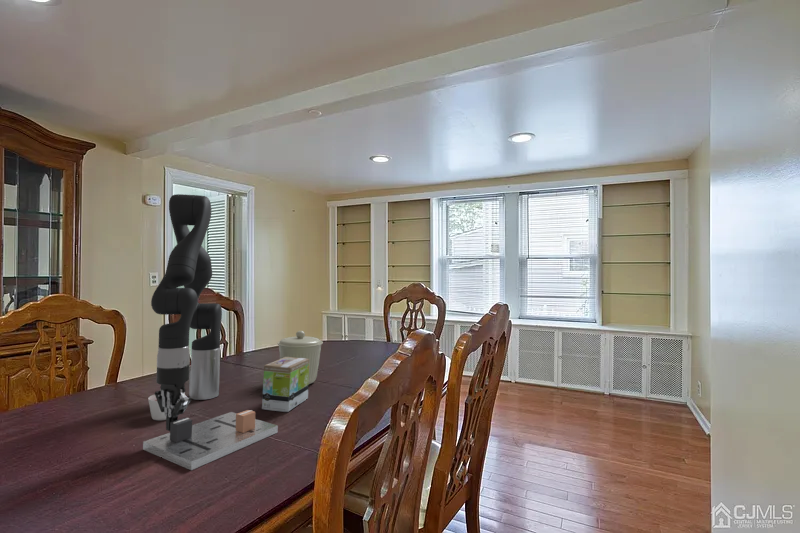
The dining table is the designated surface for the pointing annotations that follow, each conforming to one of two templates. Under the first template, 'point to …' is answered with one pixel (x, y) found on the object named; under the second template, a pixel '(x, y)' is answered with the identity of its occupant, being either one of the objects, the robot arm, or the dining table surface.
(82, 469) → the dining table surface
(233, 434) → the mixing board
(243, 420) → the fader terracotta
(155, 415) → the candle
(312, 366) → the canister
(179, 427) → the fader black
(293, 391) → the tea box
